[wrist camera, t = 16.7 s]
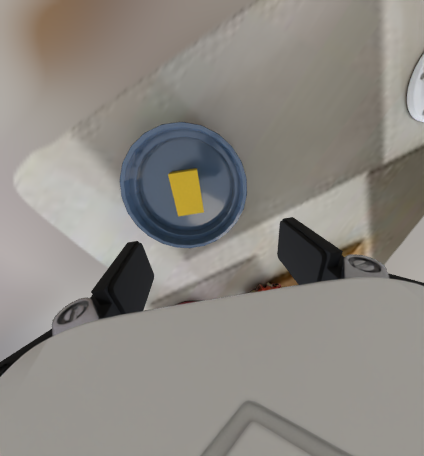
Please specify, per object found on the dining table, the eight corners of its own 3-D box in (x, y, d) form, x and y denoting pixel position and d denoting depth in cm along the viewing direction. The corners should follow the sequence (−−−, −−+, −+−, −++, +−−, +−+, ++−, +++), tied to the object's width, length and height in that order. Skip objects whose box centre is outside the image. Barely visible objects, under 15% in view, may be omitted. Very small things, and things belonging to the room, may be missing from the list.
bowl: (145, 102, 22) (134, 91, 18) (257, 158, 27) (269, 159, 23) (122, 218, 29) (111, 229, 25) (215, 246, 34) (218, 259, 30)
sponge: (170, 171, 26) (167, 174, 23) (196, 168, 26) (197, 169, 24) (179, 210, 29) (178, 216, 27) (203, 206, 29) (204, 212, 27)
